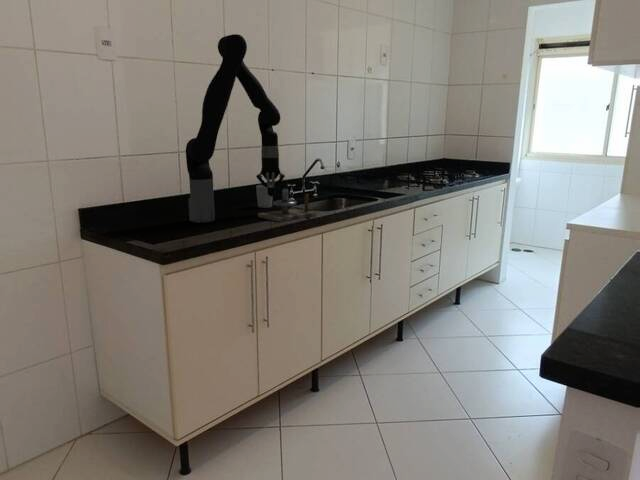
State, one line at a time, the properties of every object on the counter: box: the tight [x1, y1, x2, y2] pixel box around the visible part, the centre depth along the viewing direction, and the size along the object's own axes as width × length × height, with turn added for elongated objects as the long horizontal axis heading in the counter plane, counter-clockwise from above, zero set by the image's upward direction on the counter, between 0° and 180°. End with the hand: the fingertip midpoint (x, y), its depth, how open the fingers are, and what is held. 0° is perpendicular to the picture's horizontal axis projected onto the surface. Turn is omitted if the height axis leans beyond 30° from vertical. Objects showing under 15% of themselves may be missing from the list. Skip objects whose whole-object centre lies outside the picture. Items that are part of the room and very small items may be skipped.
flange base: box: [257, 193, 317, 222], centre depth 211 cm, size 20×15×9 cm
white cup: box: [255, 184, 274, 209], centre depth 237 cm, size 8×8×10 cm
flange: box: [272, 188, 298, 207], centre depth 213 cm, size 18×10×5 cm, turn 3°
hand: (271, 196), depth 219 cm, fingers closed
